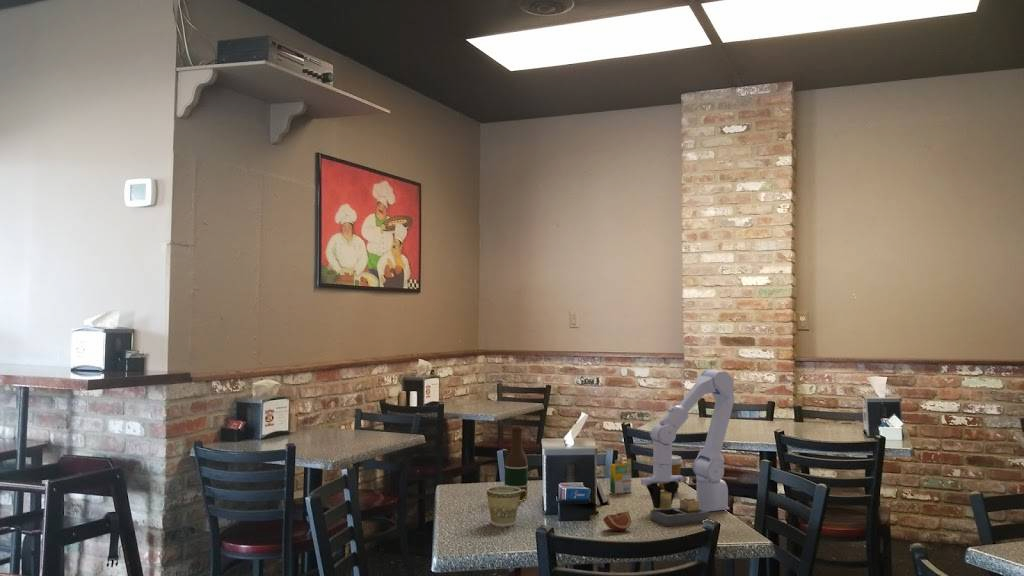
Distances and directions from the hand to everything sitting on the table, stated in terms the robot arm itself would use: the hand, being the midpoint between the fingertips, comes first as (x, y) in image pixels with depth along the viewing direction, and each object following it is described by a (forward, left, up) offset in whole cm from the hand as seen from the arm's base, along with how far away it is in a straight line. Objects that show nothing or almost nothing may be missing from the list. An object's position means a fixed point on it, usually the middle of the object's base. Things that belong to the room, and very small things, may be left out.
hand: (662, 506), depth 249 cm
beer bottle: (+36, -32, -2) cm, 48 cm away
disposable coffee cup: (-19, -24, -2) cm, 31 cm away
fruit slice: (+25, +14, -2) cm, 29 cm away
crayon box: (-2, -28, -2) cm, 28 cm away
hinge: (+14, -22, -2) cm, 26 cm away
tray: (+2, +12, -1) cm, 12 cm away
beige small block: (0, 0, -2) cm, 2 cm away
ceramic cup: (+51, -4, -2) cm, 51 cm away
